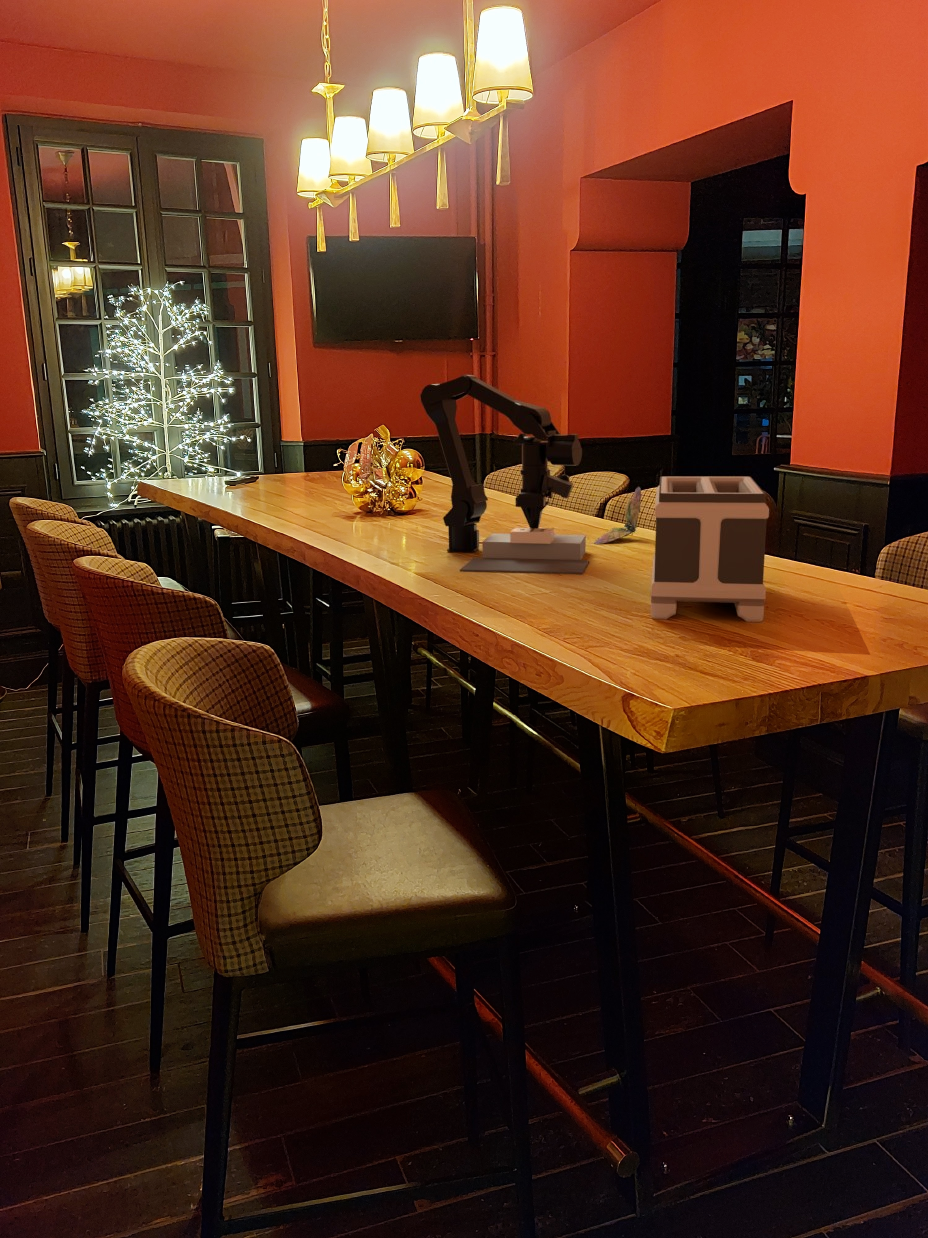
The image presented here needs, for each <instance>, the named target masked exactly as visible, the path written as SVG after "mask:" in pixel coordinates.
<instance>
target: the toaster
mask: <svg viewBox="0 0 928 1238" xmlns="http://www.w3.org/2000/svg"><path fill="white" fill-rule="evenodd" d="M769 517H770V508H769V506H768V505H767V503H766V493H765V491H763V489H762V488H761V487H760V486H759V485H758V484H757V482H756V481H755V480H754V479H753V478H752V476H716V475H715V476H712V475H711V476H709V475H708V476H702V475H701V476H698V475H697V476H686V475H685V476H680V475H679V476H678V475H677V476H676V475H675V476H669V475H668V476H660V477H659V485H658V486H657V487H656V492H655V503H654V518H655V544H654V545H655V548H654V549H655V550H654V553H653V557H652V558H653V561H652V568H651V569H652V570H651V585H650V616H651V618H652V619H654V620H668V619H669V618H671V617H672V616H675V615H676V614H677V604H678V603H677V602H689V603H691V602H692V603H693V602H694V603H695V602H696V603H697V602H699V603H725V604H726V603H727V604H728V603H729V604H732V603H733V605H734V608H735V611H736V614H737V617H739V618H741V619H743V620H744V621H745V622H748V623H761V622H762V621H763V620H764V617H765V616H764V614H765V613H764V612H765V601H766V598H767V597H766V596H767V590H766V586H765V583H764V574H765V573H764V572H765V570H764V569H765V554H766V537H767V536H766V535H767V521H768V518H769Z"/></svg>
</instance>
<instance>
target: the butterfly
mask: <svg viewBox="0 0 928 1238" xmlns="http://www.w3.org/2000/svg"><path fill="white" fill-rule="evenodd" d="M641 489H642V488H641V487H640V486H637V488H635V491H634V493H633V495H632V497H630V498H628V499H627V501H626V505H625V506H624V507H625V508H624V509H625V510H624V517H625V519H626V523H625V524H624V527H612V528H610V529H609V530H606V532H604V533H603V534H602V535H601V536H599V537H598V538H597V539H595V540H594V544H595V545H601V544H604V545H605V544H606V543H610V542H613V541H617V540H620V539H621V538H622V539H623V538H625V537H628V536H629V535H631V536H633V534H634V533H636V531H637V528H638V527H639V526H637V524H638V519H639V513H641V498H642V490H641Z"/></svg>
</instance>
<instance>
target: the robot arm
mask: <svg viewBox="0 0 928 1238" xmlns="http://www.w3.org/2000/svg"><path fill="white" fill-rule="evenodd" d="M466 396H470V397H471V398H473V399H474V400H476V401H479V402H481V403H482V404H484V405H486V406H488V408H491V409H493V410H495V411H496V412H498V413H500V414H502V415H503V416H505V417H506V418H507V419H508V420H509V421H510V422H511V424H512V425H514V426H515V427H516V428H517V429H518V430H519V431H520V432H521V433H519V434H518V436H516V438H515V439H514V440H513V441H512V444H513V445H521V464H522V465H521V470H520V476H521V478H522V479H521V480H522V481H521V488H520V493H519V494H518V495H517V496H516V497H515V499H514V500H515V507H517V508H521V511H522V513H523V515H524V517H525V519H526V522H527V524H528V526H529V527H528V528H540V525H541V519H542V516H543V515H542V514H543V510H544V509H545V508H546V507H547V506H548V505H549V504H550V501H546V498H547V497H548V498H549V499H552V498H553V497H554V494H555V495H558V496H560V497H561V498H564V499H569V497H570V495H571V492H572V489H573V486H574V483H573V482H572V481H570V476H569V475H567V474H565V473H564V474H561V476H559V477H558V476H553V475H551V469H549V466H548V465H549V464H548V462H549V463H550V464H551V465H552V466H579V464H580V463H581V461H582V458H583V457H582V456H583V448H582V444H581V442H580V440H579V434H578V433H571V434H561V433H560V432H559V430H558V429H557V427H556V425H554V423H553V422H552V417H551V412H550V411H549V409H547V408H545V407H542V406H539V405H536V404H533V403H529V402H525V401H521V400H517V399H515V397H512V396H511V395H509V394H507V393H505V392H503V391H501V390H500V389H499V388H496V387H494V386H493V385H490V384H488V383H487V382H484V381H483V380H481V379H479V378H478V377H477V376H476V375H473V374H462V375H461V376H459V377H457V378H455V379H452V380H448V381H445V382H442V383H435V384H434V383H431V384H427V385H425V386H424V387H423V389H422V390H421V393H420V395H419V398H420V403H421V404H422V408H423V409H424V412H425V413H426V415H427V417H428V418H429V419H430V420H431V421H432V423H433V424H434V425H435V428H436V431H437V434H438V438H439V443H440V445H441V448H442V453H443V455H444V459H445V462H446V466H447V469H448V473H449V475H450V480H451V483H452V484H451V485H452V487H451V494H450V501H451V509H450V510H449V511H448V512H447V513H445V515H444V516H443V518H442V519H443V523H444V526H445V527H448V528H447V529H448V548H447V549H446V552H448V553H449V552H451V553H457V552H458V553H475V551H477V550H478V549H479V548H480V530H479V529H478V527H477V526H478V525H477V524H478V523H480V521H481V518H482V516H483V515H484V513H485V511H487V508H488V506H487V501H489V499H488V497H487V495H486V492H485V486H484V484H483V483H478V484H477V483H476V481H474V479H473V477H472V474H471V471H470V470H471V469H470V466H469V463H468V459H467V457H466V452H465V448H464V447H463V442H462V439H461V435H460V432H459V428H458V425H457V421H456V416H457V408H458V406H457V401H458V400H460V399H463V398H465V397H466ZM528 435H532V436H528Z"/></svg>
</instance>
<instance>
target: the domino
mask: <svg viewBox="0 0 928 1238" xmlns="http://www.w3.org/2000/svg"><path fill="white" fill-rule="evenodd" d="M509 534H510V543H542V544H551V543H552V542H553V540H554V535H555V528H546V527H545V528H543V527H542V528H540V527H539V528H530V527H514V528H513V529H512V530H511V531H509Z"/></svg>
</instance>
